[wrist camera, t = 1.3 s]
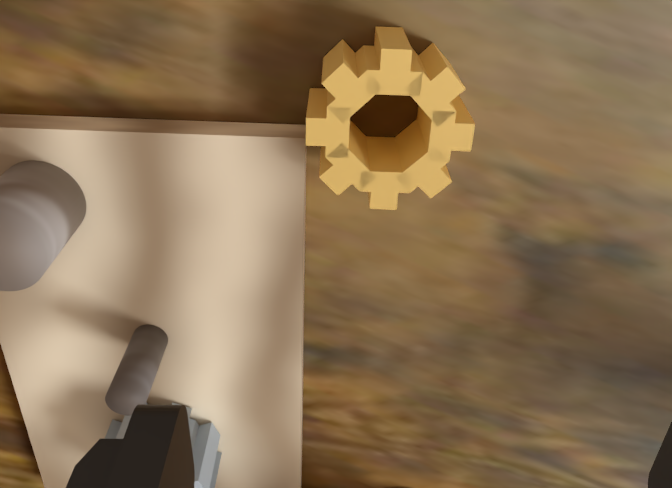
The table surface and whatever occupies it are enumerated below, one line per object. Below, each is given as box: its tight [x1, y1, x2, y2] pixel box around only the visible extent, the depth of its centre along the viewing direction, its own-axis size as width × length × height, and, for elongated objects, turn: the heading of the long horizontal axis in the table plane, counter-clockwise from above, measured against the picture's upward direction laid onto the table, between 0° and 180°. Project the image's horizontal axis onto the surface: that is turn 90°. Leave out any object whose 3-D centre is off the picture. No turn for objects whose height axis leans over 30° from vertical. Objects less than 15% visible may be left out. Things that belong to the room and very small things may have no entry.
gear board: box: [0, 114, 306, 488], centre depth 28 cm, size 14×22×6 cm, turn 178°
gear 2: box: [306, 26, 475, 210], centre depth 23 cm, size 6×6×4 cm
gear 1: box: [105, 402, 222, 488], centre depth 30 cm, size 6×6×4 cm
